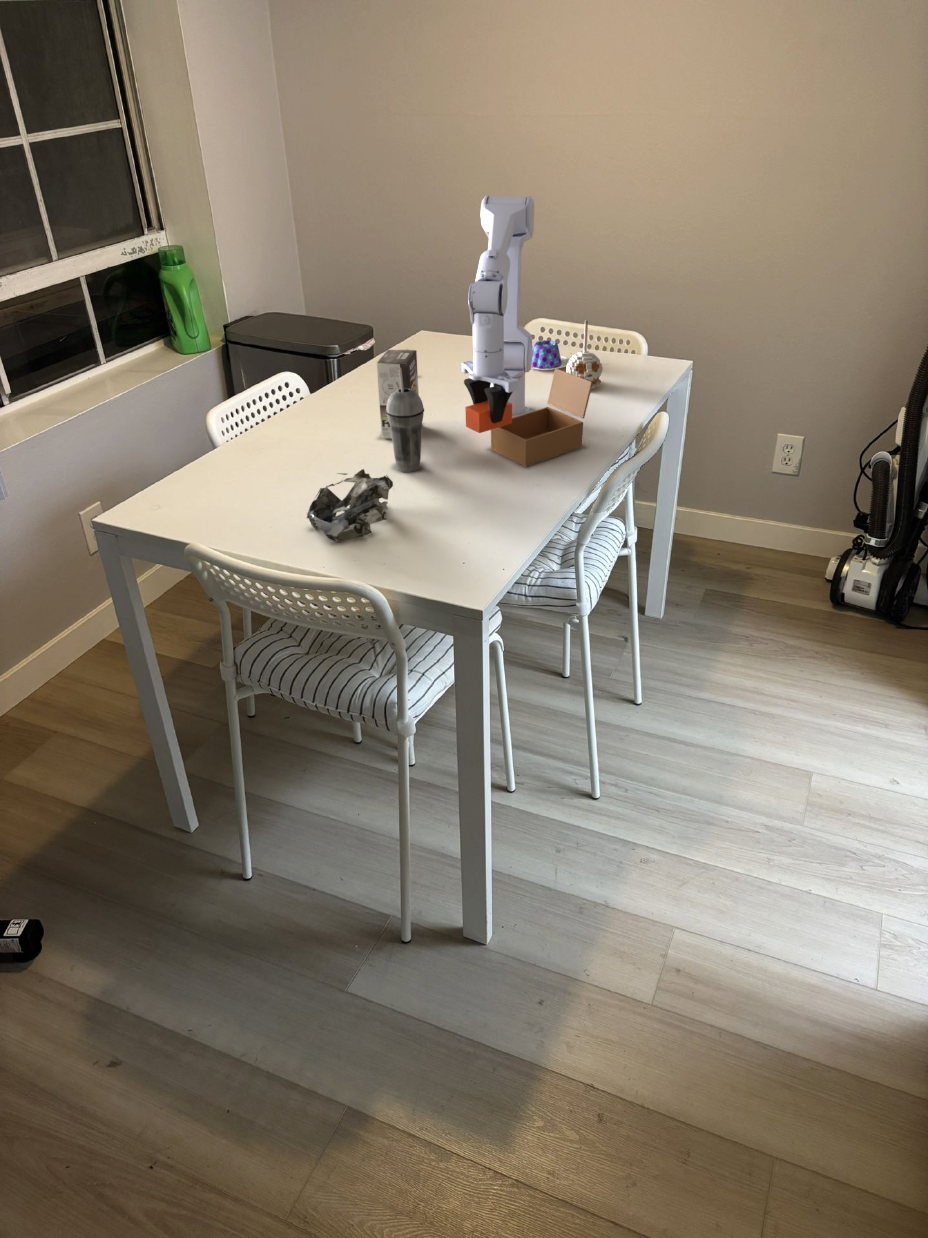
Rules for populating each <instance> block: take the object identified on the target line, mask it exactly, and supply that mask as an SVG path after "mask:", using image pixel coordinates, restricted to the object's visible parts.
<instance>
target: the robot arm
mask: <svg viewBox="0 0 928 1238" xmlns="http://www.w3.org/2000/svg"><path fill="white" fill-rule="evenodd" d="M534 200H535V199H534V198H533V197H532V196H530V195H527V196H490V195H485V196H484V198H483V199H482V200H481V204H480V224H481V228H482V229H483V231H484V233H485V235H486V237H487V238H488V242H487V243H488V245H487V250H485V251H483V252H482V253H481V255H480V257H479V261H478V267H477V271H476V276H475V279H474V280H475V281H474V283H470V285H469V288H468V297H467V301H468V310H469V317H470V318H469V319H470V320H469V321H470V325H472V360H467V361H463V362H461V373H462V374H465V375H466V374H469V375H468V378H465V379H464V380H463V384H464V386H465V387H466V389H467V392H468V393H469V395H470V398H471V401H472V405H474V404H477V403H481V402H484V401H489V406H490V416H491V421H492V423H498V422H501V421H502V419H503V415H504V411H505V408H506V405H507V402H510V403H512V418H513V417H516V416H520V415H523V414H526V413H529V412H533V411H534V410H533V409H532V408H529V407H526V374H527V373H529V372H530V371H531V370H532V368H531V367H532V359H533V336H532V334H531V333H530V331H528V330H527V329H526V328H524V326H522V325H521V324H520V320H521V319H520V317H521V316H520V315H521V283H522V282H521V279H522V251H523V247H524V243H525V242H527V241H529V240H532V239H533V235H534V230H535V228H534V226H535V201H534Z"/></svg>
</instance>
